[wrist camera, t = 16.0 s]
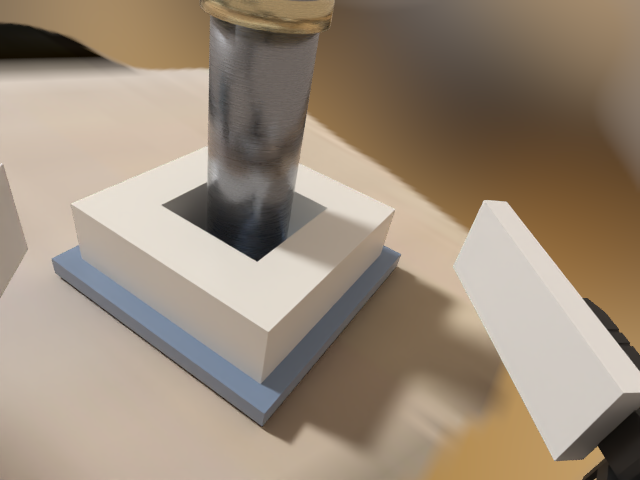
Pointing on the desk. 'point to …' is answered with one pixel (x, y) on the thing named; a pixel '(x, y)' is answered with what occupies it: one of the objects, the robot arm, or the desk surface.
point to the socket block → (229, 277)
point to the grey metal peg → (258, 115)
